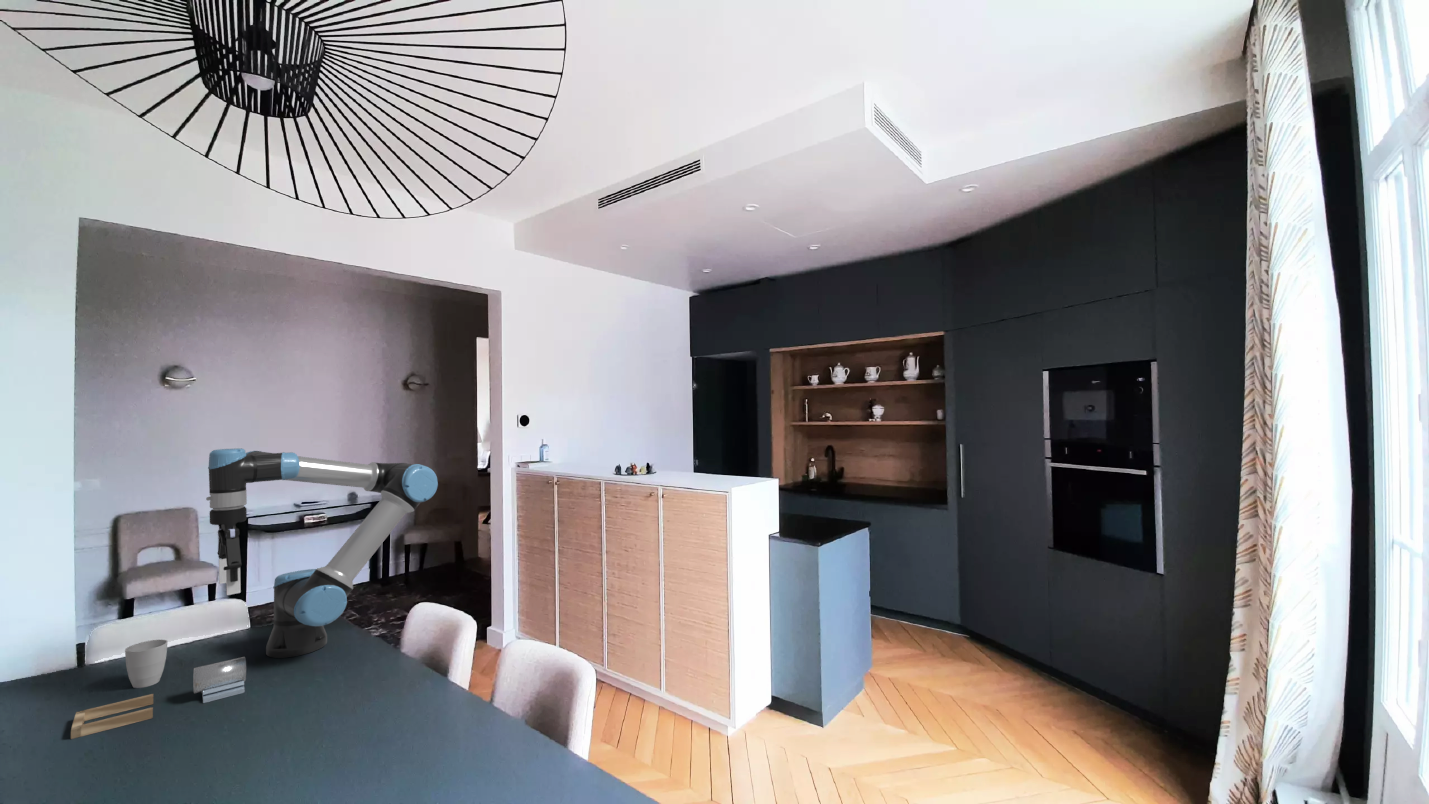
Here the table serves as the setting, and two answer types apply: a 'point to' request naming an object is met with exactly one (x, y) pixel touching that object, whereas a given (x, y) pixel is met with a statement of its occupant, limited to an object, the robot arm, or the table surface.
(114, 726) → the wooden flat frame
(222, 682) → the grey metal cylinder
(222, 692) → the v block
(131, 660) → the cup
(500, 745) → the table surface
